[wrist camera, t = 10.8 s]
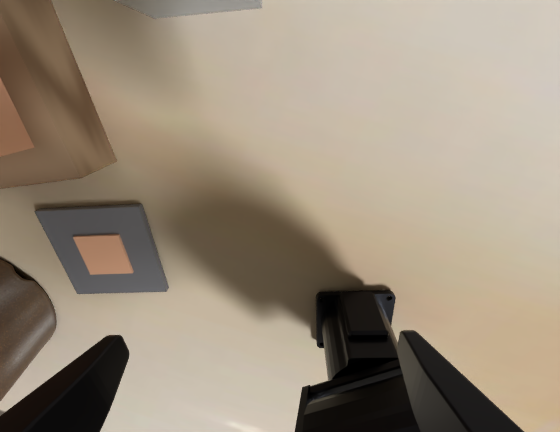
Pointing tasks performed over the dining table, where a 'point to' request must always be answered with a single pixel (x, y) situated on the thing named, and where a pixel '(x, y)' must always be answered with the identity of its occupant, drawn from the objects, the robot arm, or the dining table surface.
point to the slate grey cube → (188, 6)
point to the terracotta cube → (11, 126)
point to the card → (105, 248)
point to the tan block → (47, 99)
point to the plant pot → (21, 324)
